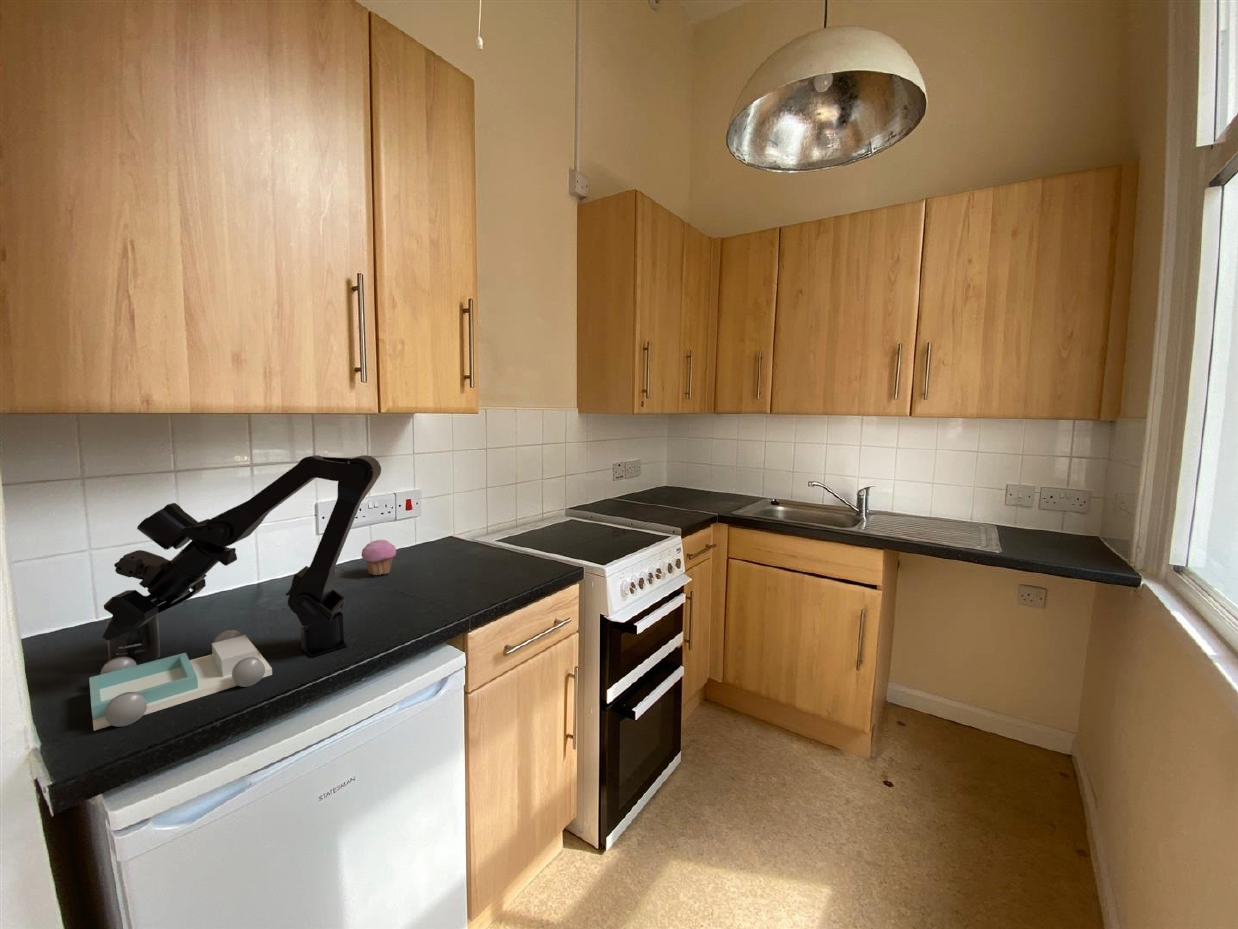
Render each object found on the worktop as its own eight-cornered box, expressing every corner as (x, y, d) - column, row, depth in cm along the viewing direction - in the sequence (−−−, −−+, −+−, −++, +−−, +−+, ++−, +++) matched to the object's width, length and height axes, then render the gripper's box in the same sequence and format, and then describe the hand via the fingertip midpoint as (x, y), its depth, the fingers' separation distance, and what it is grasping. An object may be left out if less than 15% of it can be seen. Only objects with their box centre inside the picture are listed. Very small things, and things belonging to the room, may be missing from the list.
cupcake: (389, 568, 151) (388, 535, 150) (401, 574, 145) (400, 540, 144) (357, 574, 145) (356, 540, 144) (369, 581, 139) (367, 546, 138)
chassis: (250, 646, 100) (249, 625, 100) (274, 678, 89) (273, 654, 88) (90, 690, 84) (88, 665, 84) (94, 736, 73) (91, 707, 72)
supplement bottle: (123, 675, 89) (116, 609, 88) (101, 667, 92) (95, 603, 90) (169, 657, 96) (164, 596, 94) (148, 651, 98) (142, 591, 97)
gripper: (183, 525, 101) (123, 582, 100) (112, 550, 83) (37, 620, 82) (231, 562, 104) (172, 618, 102) (172, 594, 85) (100, 662, 84)
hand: (124, 627), depth 93 cm, fingers open, 9 cm apart
